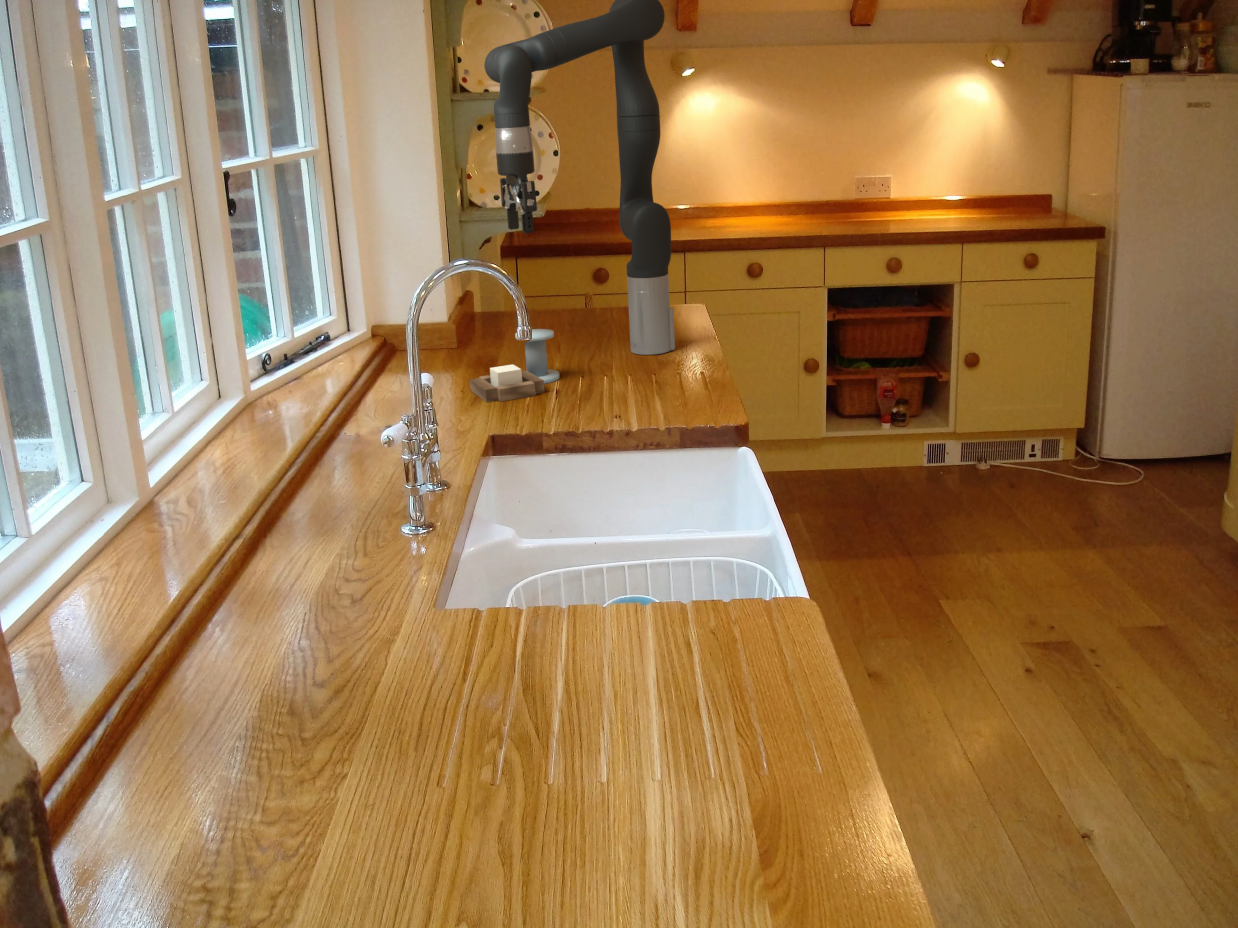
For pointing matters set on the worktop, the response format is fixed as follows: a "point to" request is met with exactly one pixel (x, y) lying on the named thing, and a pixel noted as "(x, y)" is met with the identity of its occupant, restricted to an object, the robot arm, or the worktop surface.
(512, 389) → the tray
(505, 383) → the block
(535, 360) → the bobbin
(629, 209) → the robot arm
